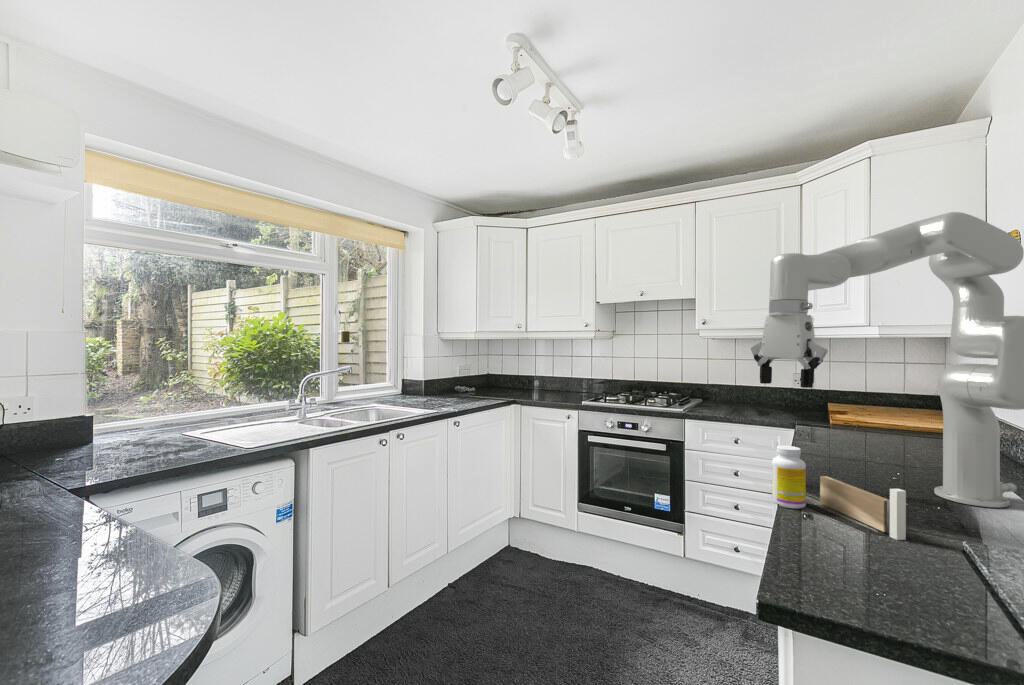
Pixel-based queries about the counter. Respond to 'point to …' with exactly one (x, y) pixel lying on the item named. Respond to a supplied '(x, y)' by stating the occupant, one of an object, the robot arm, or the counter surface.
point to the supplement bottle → (789, 478)
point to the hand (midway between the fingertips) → (785, 385)
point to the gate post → (898, 514)
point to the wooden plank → (856, 503)
